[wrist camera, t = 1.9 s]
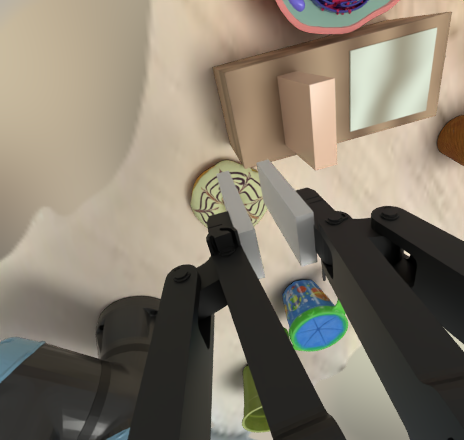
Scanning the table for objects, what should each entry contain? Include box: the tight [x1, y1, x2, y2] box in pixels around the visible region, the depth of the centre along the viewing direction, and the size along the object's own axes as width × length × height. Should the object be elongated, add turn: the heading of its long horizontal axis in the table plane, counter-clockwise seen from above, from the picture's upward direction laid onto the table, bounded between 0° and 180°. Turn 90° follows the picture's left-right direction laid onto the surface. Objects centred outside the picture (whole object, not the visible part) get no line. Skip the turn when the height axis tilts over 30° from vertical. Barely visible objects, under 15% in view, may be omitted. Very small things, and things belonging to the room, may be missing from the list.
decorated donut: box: [190, 160, 268, 228], centre depth 44 cm, size 11×12×4 cm
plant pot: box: [242, 366, 270, 432], centre depth 66 cm, size 12×12×11 cm
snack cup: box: [283, 280, 348, 351], centre depth 55 cm, size 16×10×10 cm
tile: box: [277, 71, 337, 170], centre depth 27 cm, size 2×7×8 cm, turn 13°
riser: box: [213, 12, 452, 169], centre depth 35 cm, size 23×10×10 cm, turn 103°
